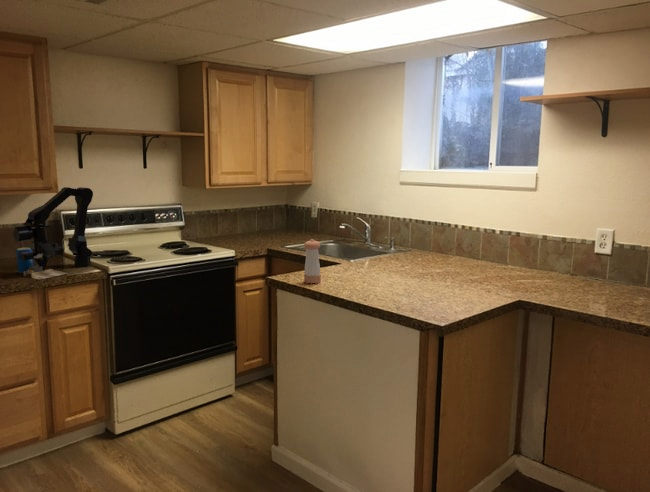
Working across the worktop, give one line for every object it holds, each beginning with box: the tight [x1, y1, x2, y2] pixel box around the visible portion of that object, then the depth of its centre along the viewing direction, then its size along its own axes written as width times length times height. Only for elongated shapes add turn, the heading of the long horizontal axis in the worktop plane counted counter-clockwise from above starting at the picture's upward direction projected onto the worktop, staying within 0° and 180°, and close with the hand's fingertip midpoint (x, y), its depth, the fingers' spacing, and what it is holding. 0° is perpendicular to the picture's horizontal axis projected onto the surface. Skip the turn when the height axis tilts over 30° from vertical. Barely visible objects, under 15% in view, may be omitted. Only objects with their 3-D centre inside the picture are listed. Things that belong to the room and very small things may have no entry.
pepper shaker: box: [303, 238, 322, 284], centre depth 242 cm, size 7×7×19 cm
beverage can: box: [16, 247, 34, 274], centre depth 260 cm, size 6×6×12 cm
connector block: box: [29, 264, 43, 272], centre depth 253 cm, size 4×4×4 cm
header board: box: [22, 268, 69, 280], centre depth 255 cm, size 14×13×3 cm
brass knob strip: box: [24, 269, 34, 278], centre depth 251 cm, size 2×5×3 cm, turn 57°
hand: (43, 271), depth 257 cm, fingers closed
